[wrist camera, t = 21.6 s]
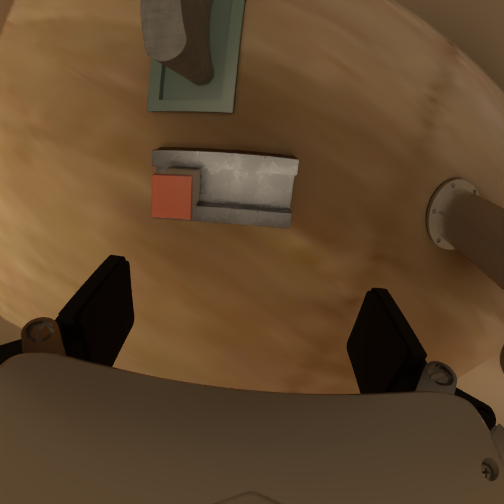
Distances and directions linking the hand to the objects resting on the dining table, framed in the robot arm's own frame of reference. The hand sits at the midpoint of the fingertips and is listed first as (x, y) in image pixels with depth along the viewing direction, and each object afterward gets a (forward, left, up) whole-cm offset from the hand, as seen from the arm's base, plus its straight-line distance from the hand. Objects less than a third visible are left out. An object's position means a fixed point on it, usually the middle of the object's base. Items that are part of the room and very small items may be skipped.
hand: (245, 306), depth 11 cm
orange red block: (+8, +2, -29) cm, 30 cm away
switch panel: (+3, +2, -31) cm, 31 cm away
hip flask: (+8, -19, -30) cm, 37 cm away
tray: (+8, -19, -31) cm, 37 cm away
